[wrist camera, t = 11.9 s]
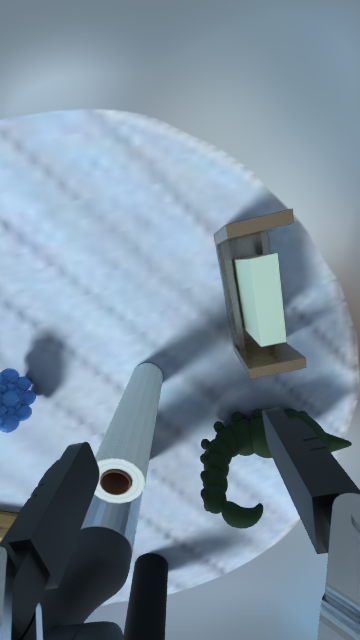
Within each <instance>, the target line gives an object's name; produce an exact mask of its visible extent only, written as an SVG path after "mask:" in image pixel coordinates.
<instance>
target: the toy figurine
mask: <svg viewBox="0 0 360 640" xmlns="http://www.w3.org/2000/svg"><path fill="white" fill-rule="evenodd" d="M262 410H263V409H256V410H255V411H254V413H253V417H254V419H253V420H251V421H250V422H249V421H247V420H243V417H242V415H241V414H240V413H239V412H235V413H234V414H233V417H232V419H233V421H234V422H233V423H232V424H231V425H230V426H229V427H224V426H223V424H222V422H219V421H217V422H215V424H214V429H215V431H216V432H217V434H216V438H215V439H213V440H212V441H211V442H209V440H207V439H203V440H202V441H201V447H202V448H203V449H204V450H206V449H207V450H206V451H205V452H204V454H202V455H201V456H200V460H201V462H202V463H203V464H204V471H202V472H201V475H200V476H201V479H202V481H203V487H204V488H203V489H202V490H201V497H202V499H203V501H204V508H205V510H206V511H210V512H211V513H214V514H218V513H220V512H222V516H223V518H224V520H225V521H226V522H227V524H229V525H231V526H232V527H236V528H248V527H251V526H253V525H254V524H256V523H257V522H258V520H259V519H260V518H261V516H262V513H263V505H262V504H261V503H259V504H258V505H257V506H255V507H254V508H244V507H240V506H239V505H237V504H236V503H233V502H231V501H226V494H225V493H226V491H227V487H228V482H227V478H226V477H227V475H228V472H229V465H228V464H229V463H230V462H231V459H232V457H235V456H236V455H238V454H240V455H243V456H249V455H252V454H254V453H255V454H257V455H258V456H261V457H263V458H273V457H272V455H271V453H270V450H269V447H268V444H267V440H266V434H265V428H264V421H263V415H262ZM284 413H285V414H286V416H287V417H288V419H292V418H299V419H300V420H302V421H303V422H305V423H306V424H308V425H309V426H310V427H311V428H312V430H313V431H314V432H315V433H316V435H317V436H318V438H319V439H320V440H321V441H322V442H323V444H324V445H325V446H326V449H328V450H329V451H330V453H331V452H333V451H336V450H340V449H343V448H346V447H349V446H351V445H352V444H351V442H349V441H347V440H345V439H342V438H339V437H336V436H333V435H330V434H328V433H326V432H324V430H323V429H322V427H321V426H320V425H319V424H318V423H317V422H316V421H315V420H313V419H312V418H311V417H310V416H308V414H307V413H306V412H305V411H300V412H297V411H296V410H294V409H287V410H286V411H285V412H284Z"/></svg>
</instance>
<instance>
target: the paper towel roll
mask: <svg viewBox="0 0 360 640" xmlns="http://www.w3.org/2000/svg"><path fill="white" fill-rule="evenodd" d="M162 380H163V375H162V372H161V370H160V369H159V368H158V366H156V365H154V364H152V363H143V364H140V365H139V366H137V367H136V368H135V369H134V371H133V373H132V376H131V378H130V380H129V382H128V384H127V387H126V389H125V391H124V393H123V396H122V398H121V400H120V402H119V405H118V407H117V409H116V411H115V413H114V416H113V418H112V420H111V422H110V425H109V427H108V429H107V431H106V434H105V436H104V438H103V440H102V442H101V445H100V447H99V449H98V451H97V454H96V456H95V459H96V461H97V464H98V466H99V471H100V476H99V482H98V485H97V488H96V490H95V493H94V494H95V495H96V496H97V497H98V498H100V499H103V500H105V501H107V502H112V503H125V502H130V501H132V500H134V499H135V498H137V497H139V495H140V494H141V493H142V491H143V490H144V488H145V482H146V476H147V470H148V464H149V458H150V452H151V446H152V440H153V434H154V428H155V422H156V416H157V410H158V404H159V398H160V392H161V387H162Z"/></svg>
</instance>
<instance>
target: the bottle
mask: <svg viewBox="0 0 360 640" xmlns="http://www.w3.org/2000/svg"><path fill="white" fill-rule="evenodd" d="M167 579H168V563H167V561H166V560H165V559H164V558H163V557H161V556H159V555H156V554H146V555H143V556H141V557H139V558H138V559H137V560H136V562H135V566H134V572H133V579H132V585H131V591H130V598H129V605H128V610H127V617H126V623H125V629H124V640H165V620H166V601H167Z"/></svg>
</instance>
